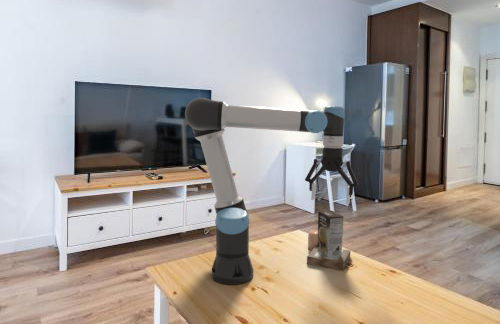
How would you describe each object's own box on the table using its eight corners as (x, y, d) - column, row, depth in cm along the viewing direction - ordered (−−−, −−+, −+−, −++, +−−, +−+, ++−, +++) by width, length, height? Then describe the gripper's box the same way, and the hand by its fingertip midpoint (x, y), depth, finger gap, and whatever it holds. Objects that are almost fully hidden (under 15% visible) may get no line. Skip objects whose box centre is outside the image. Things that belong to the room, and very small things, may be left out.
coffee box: (316, 249, 145) (317, 210, 143) (330, 248, 147) (331, 209, 145) (327, 258, 137) (328, 217, 135) (342, 256, 139) (344, 215, 137)
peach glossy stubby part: (305, 249, 154) (306, 234, 153) (310, 244, 160) (310, 229, 160) (322, 252, 151) (322, 236, 150) (325, 246, 157) (326, 231, 157)
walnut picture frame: (306, 263, 139) (307, 255, 139) (316, 251, 152) (316, 244, 151) (343, 270, 133) (343, 262, 133) (350, 257, 146) (350, 249, 145)
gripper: (298, 146, 139) (296, 199, 141) (365, 149, 128) (361, 207, 131) (304, 144, 145) (302, 195, 148) (368, 148, 135) (364, 203, 137)
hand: (330, 201), depth 139 cm, fingers open, 13 cm apart
